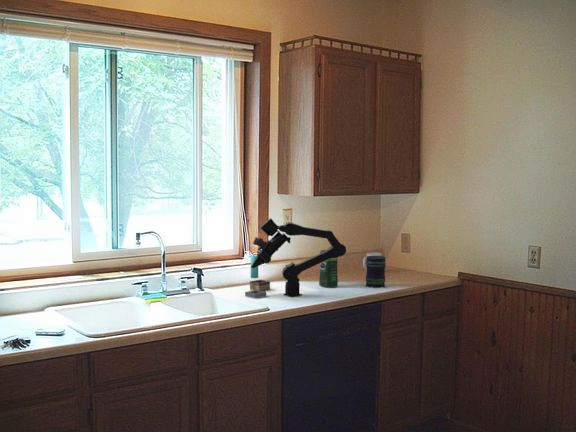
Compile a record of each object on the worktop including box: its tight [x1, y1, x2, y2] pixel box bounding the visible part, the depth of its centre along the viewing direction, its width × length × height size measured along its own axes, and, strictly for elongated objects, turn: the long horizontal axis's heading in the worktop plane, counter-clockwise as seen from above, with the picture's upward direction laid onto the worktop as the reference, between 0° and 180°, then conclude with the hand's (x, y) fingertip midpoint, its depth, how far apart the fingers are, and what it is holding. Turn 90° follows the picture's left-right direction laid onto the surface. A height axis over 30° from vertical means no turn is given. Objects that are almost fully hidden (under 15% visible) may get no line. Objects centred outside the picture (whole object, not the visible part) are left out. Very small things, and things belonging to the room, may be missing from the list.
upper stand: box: [249, 279, 271, 292], centre depth 318 cm, size 7×7×4 cm
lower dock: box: [244, 290, 267, 299], centre depth 302 cm, size 7×7×2 cm
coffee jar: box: [318, 249, 339, 288], centre depth 329 cm, size 10×8×19 cm
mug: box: [362, 252, 382, 272], centre depth 374 cm, size 12×8×11 cm
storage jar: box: [365, 255, 387, 289], centre depth 331 cm, size 10×10×15 cm
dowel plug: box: [250, 255, 259, 279], centre depth 303 cm, size 4×4×10 cm
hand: (251, 266), depth 303 cm, fingers closed on dowel plug, 4 cm apart
